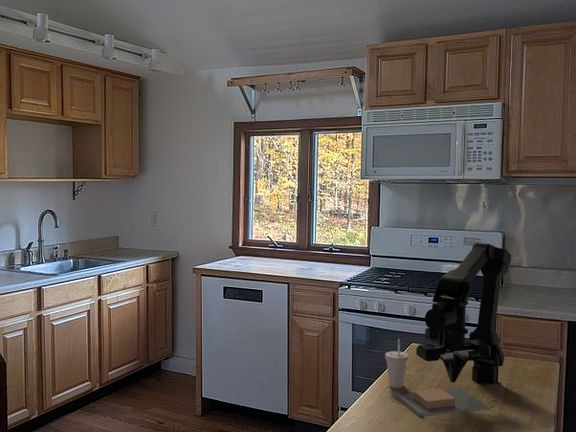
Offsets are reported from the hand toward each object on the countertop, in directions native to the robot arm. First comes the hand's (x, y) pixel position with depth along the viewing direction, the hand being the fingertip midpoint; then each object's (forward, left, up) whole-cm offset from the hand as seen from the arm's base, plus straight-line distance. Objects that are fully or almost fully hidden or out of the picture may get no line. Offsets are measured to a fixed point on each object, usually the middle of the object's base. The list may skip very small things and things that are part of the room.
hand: (452, 381), depth 152 cm
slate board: (+3, 0, -6) cm, 7 cm away
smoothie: (+9, -14, -6) cm, 18 cm away
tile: (+1, 0, -4) cm, 4 cm away
